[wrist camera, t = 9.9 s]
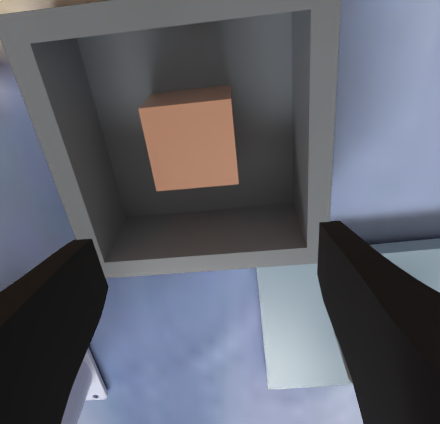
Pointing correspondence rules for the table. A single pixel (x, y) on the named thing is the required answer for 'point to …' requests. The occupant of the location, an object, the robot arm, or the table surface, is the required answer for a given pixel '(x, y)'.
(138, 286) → the table surface
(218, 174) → the uncovered block
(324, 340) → the lid
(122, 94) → the storage box
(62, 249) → the robot arm
